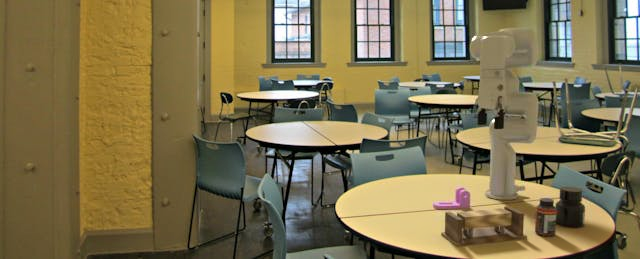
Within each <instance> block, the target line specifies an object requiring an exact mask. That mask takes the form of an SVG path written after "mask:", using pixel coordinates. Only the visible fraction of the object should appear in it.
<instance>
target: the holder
mask: <svg viewBox="0 0 640 259" xmlns="http://www.w3.org/2000/svg"><path fill="white" fill-rule="evenodd" d="M503 209H505V210H507V211H509V212H511V213H512V214H511V225H507V226H498V227H488V228H479V229H469V230H464V229H463V219H461V218H460V217H458V216H457V214H456V213H455V214H454V213H453V212H451V211H445V215H444V232H441V233H440V234H441V236H442V237H443V238H445V239H446V240H447V241H449V242H451V243H452V244H453V245H455V247H462V246H470V245H479V244H481V245H482V244H488V243H489V244H490V243H497V242H506V241H507V240H508V241H515V240H514V239H517V240H525V239H524V238H526V239H527V238H528V235H527V234H524V224H525V222H524V220H525V213H524V212H522V211H520V210H518V209H516V208H514V207H511V206H510V205H507V206H506V205H505V206H504V208H503ZM508 241H507V242H508Z"/></svg>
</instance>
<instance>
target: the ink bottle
mask: <svg viewBox="0 0 640 259" xmlns="http://www.w3.org/2000/svg"><path fill="white" fill-rule="evenodd" d="M554 206H555V207H556V209H557V212H556V225H559V226H562V227H565V228H580V227H583V226H584V225H585V219H586V218H585V217H586V206H585V205H584V204H583V189H582V188H579V187H576V186H575V187H574V186H561V187H559V200H558V201H557V202H555V205H554Z"/></svg>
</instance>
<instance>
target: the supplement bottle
mask: <svg viewBox="0 0 640 259" xmlns="http://www.w3.org/2000/svg"><path fill="white" fill-rule="evenodd" d="M555 206H556V205H555V200H554V199H553V198H549V197H541V198H540V199H539V203H538V204H537V205H536V208H535V221H534V222H535V226H534V232H535V233H536V234H537V235H539V236H541V235H542V237H553V236H555V234H556V228H557V227H556V225H557V223H556V212H557V209H556V207H555Z"/></svg>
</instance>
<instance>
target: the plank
mask: <svg viewBox="0 0 640 259" xmlns="http://www.w3.org/2000/svg"><path fill="white" fill-rule="evenodd" d="M511 214H512V213H511V212H509V211H507V210H505V209H504V208H501V207H499V208H491V209H480V210H470V211H458V212H456V216H458V217H460V218H461V219H463V229H464V230H469V229H481V228H490V227H498V226H499V227H500V226H507V225H511Z"/></svg>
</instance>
